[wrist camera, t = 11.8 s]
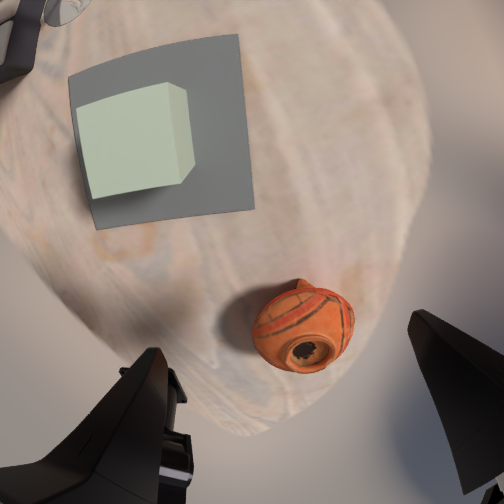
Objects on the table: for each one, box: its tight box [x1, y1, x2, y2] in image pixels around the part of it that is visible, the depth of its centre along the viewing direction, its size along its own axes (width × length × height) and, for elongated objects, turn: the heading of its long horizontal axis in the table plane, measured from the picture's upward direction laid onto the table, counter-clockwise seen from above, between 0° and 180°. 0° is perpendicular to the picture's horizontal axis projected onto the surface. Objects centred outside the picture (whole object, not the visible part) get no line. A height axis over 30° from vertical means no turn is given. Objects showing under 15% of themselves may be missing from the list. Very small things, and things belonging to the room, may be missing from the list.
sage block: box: [76, 82, 195, 199], centre depth 14 cm, size 5×5×5 cm
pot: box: [252, 279, 355, 374], centre depth 21 cm, size 8×8×7 cm
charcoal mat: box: [68, 34, 255, 230], centre depth 16 cm, size 12×12×1 cm
